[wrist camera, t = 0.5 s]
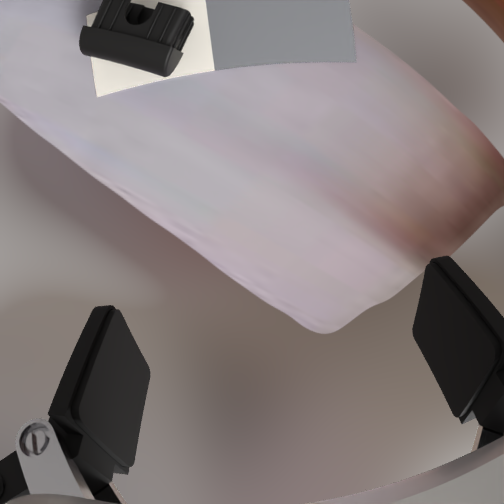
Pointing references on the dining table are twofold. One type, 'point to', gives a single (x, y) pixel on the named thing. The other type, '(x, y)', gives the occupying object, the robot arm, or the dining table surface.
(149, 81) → the board
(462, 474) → the robot arm
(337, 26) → the mat
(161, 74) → the end cap
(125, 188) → the dining table surface
